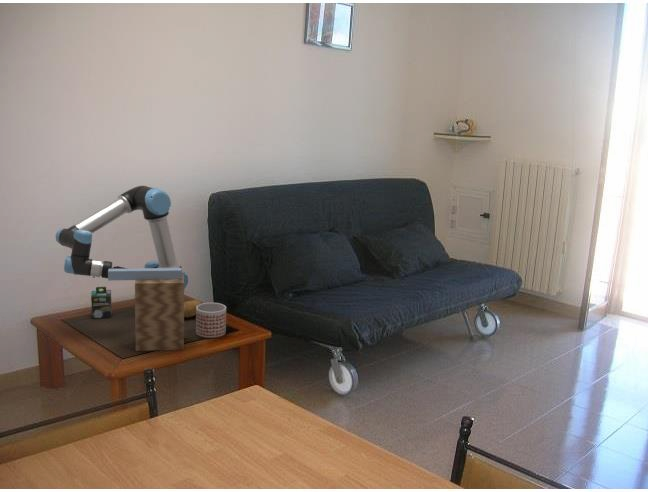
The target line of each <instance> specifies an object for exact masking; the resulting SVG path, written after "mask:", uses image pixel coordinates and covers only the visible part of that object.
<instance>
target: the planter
mask: <svg viewBox="0 0 648 492" xmlns="http://www.w3.org/2000/svg"><path fill="white" fill-rule="evenodd" d="M226 333H227V306H226V305H225V304H223V303H219V302H204V303H201V304H200V305H198V306H197V307H196V315H195V334H196V336H198V337H201V338H205V339H217V338H222V337H223V336H225V335H226Z"/></svg>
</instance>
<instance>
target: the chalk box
mask: <svg viewBox="0 0 648 492" xmlns="http://www.w3.org/2000/svg"><path fill="white" fill-rule="evenodd" d="M90 294H91V295H90V301H91V302H90V303H91V318H92V319H109V318H112V315H113V308H112V307H113V304H112V291H111V289H107V286H96V287H95V290H92V291H91V293H90Z"/></svg>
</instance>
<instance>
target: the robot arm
mask: <svg viewBox="0 0 648 492" xmlns="http://www.w3.org/2000/svg"><path fill="white" fill-rule="evenodd" d="M171 205H172V202H171V197H170V196H169V194H168V193H167V192H166V191H164V190H162V189H160V188H155V187H151V186H147V185H138V186H135V187H133V188H131V189H130V188H129V189H128V190H126V191H124V192H123V193H121V194H120V195H118V196H117V199H116V200H114V201H112V202H110V203H109V204H107V205H105V206H104V207H102V208H100V209H99V210H97V211H95V212H93V213H91V214H90V215H89V216H87V217H85V218H83V219H82V220H80V221H79V222H77V223H74V224H73V225H72V226H70V227H68V228H59V230H57V231H56V233H55V239H56V240H55V241H56V242H57V243H58V244H60V245H61V246H63V247H67V248H69V249H71V253H70V255H67V256H66V257H65V260H64V265H63V271H64V272H65V273H67V274H72V275H76V276H77V275H78V276H86V277H87V276H88V277H92V278H93V279H95V278H100V277H101V278H103V279H108V270H109V269H130V268H127V267H123V266H119V265H118V266H117V265H116V266H113V262H112V261H110V260H109V261H108V260H104V261H103V260H102V259H93V258H90V254H91V249H92V242H93V233H95V232H96V231H99V230H100V229H102V228H104V227H105V226H107V225H108V224H110V223H112V222H114V221H115V220H117V219H118V218H120V217H121V216H123V215H125V214H130V213H133V212H134V211H138V210H139V211H142V214H143V215H142V216H143V218H144V220H146V221H147V222H148V224H149V225H148V226H149V230H150V232H151V237H152V241H153V244H154V245H153V246H154V249H155V253H156V257H157V260H152V261H147V262H146V263H145V264H144V267H143V268H181V274H184V290H185V289H186V288H187V286H188V283H189V276H188V273H186V272H185V271H183V267H182V264H181V262H180V261H177V256H176V253H175V248H174V244H173V243H174V242H173V240H172V239H173V238H172V235H171V230H170V227H169V223H168V216H169V214H170V212H169V211H170V207H171Z"/></svg>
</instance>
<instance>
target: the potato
mask: <svg viewBox="0 0 648 492" xmlns="http://www.w3.org/2000/svg"><path fill="white" fill-rule="evenodd" d="M200 304H202V303H201V301H199V299H198V300H197V299H193V300H192V299H191V300H187V301H184V318H186V319H189V318H193V317H194V316H195V317H196V307H197V306H198V305H200Z"/></svg>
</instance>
